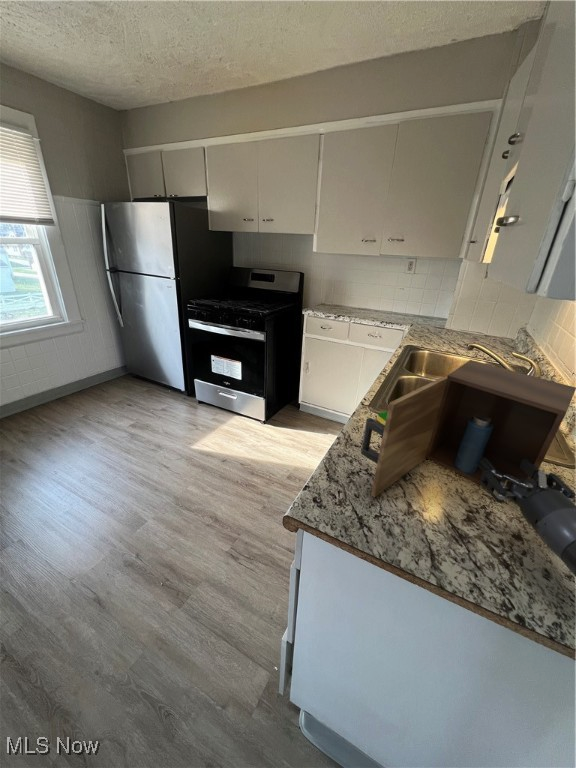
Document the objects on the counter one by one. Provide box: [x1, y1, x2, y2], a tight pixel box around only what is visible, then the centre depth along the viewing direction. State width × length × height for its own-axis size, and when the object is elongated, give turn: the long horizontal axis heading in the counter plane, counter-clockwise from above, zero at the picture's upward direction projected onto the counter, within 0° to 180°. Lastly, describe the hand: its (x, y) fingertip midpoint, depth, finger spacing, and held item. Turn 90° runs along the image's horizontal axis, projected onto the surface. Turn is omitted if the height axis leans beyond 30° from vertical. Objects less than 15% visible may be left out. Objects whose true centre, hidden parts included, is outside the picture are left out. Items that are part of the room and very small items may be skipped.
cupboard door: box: [360, 375, 448, 498], centre depth 73 cm, size 7×22×24 cm, turn 130°
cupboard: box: [425, 359, 576, 501], centre depth 76 cm, size 16×22×24 cm
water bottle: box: [454, 414, 493, 474], centre depth 76 cm, size 5×5×14 cm
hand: (502, 461), depth 66 cm, fingers open, 8 cm apart
